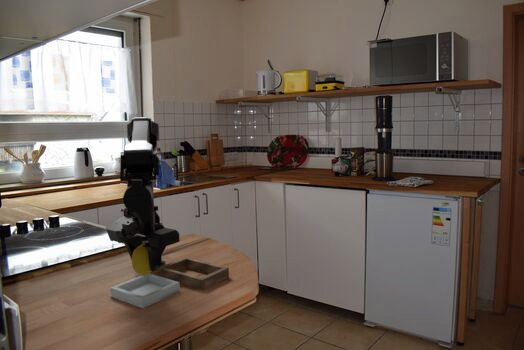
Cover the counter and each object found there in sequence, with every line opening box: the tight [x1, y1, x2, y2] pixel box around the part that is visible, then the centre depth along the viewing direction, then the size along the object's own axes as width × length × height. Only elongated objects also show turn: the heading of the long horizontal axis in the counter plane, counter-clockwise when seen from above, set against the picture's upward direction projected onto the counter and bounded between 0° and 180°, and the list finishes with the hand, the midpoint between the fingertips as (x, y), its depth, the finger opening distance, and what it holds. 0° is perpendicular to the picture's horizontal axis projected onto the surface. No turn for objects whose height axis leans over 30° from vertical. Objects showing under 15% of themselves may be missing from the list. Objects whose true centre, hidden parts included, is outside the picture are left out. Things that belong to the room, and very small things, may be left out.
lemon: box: [131, 244, 153, 277], centre depth 102 cm, size 6×6×8 cm
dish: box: [109, 273, 181, 309], centre depth 102 cm, size 11×11×2 cm
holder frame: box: [157, 256, 230, 291], centre depth 113 cm, size 15×10×2 cm, turn 55°
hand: (144, 268), depth 102 cm, fingers closed on lemon, 5 cm apart
